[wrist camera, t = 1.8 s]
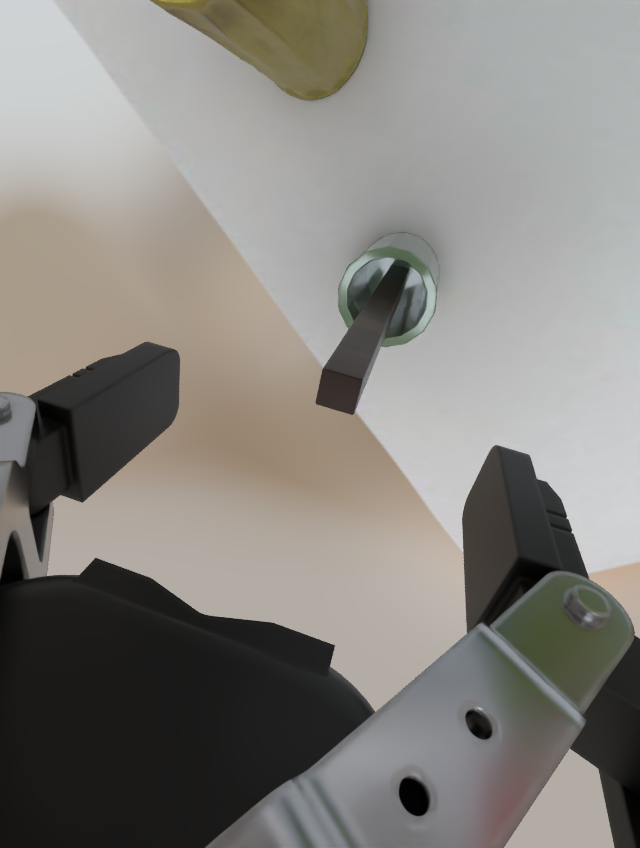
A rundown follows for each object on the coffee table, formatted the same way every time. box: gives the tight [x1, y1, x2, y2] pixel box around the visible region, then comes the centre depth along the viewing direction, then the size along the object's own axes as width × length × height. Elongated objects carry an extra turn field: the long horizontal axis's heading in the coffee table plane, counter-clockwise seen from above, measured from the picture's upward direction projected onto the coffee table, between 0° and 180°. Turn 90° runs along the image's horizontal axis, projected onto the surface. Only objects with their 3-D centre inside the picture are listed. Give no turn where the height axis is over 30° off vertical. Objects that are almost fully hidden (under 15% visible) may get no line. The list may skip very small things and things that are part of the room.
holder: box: [338, 232, 439, 347], centre depth 25 cm, size 5×5×7 cm
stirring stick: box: [316, 264, 410, 415], centre depth 20 cm, size 1×1×18 cm
